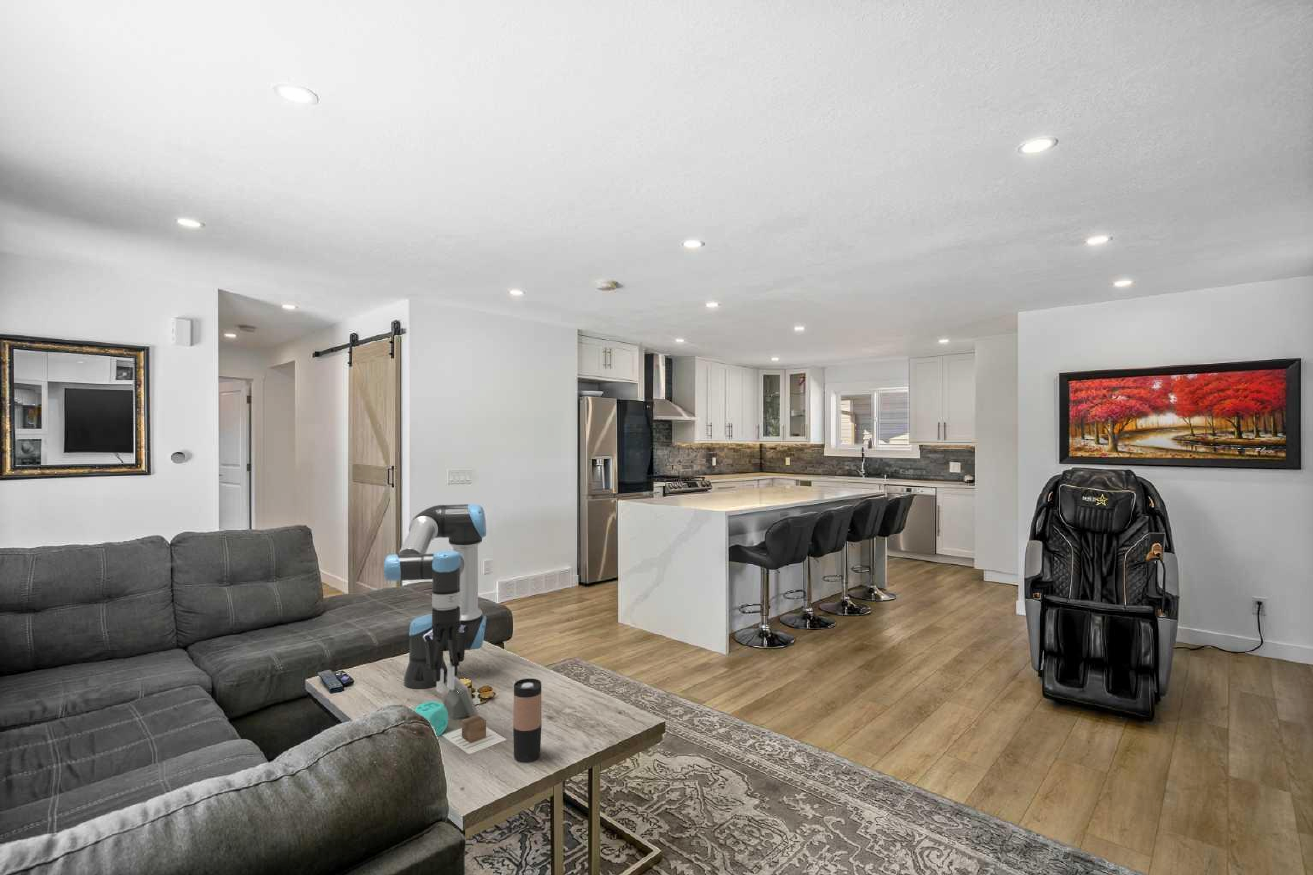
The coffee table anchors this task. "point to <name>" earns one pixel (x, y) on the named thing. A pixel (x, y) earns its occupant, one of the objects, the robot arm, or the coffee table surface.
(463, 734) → the walnut block
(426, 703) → the decorative dice
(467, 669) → the coffee table surface
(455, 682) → the grey angular piece
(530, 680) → the travel mug
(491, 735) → the letter
